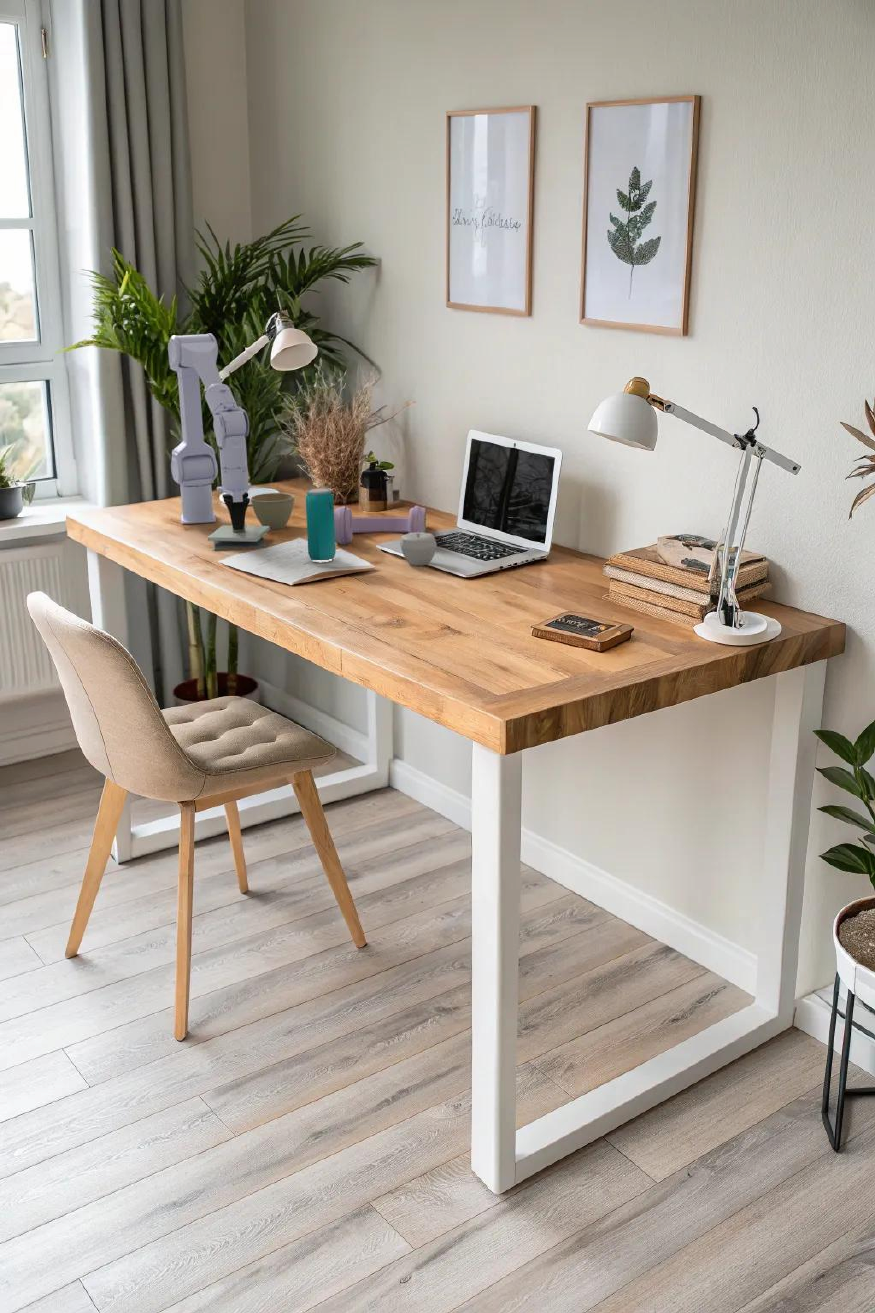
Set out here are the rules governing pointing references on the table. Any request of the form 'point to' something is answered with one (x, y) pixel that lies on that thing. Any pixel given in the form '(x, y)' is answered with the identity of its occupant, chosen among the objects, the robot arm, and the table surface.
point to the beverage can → (320, 523)
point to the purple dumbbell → (376, 523)
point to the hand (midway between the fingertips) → (238, 527)
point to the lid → (239, 533)
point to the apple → (418, 548)
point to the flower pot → (273, 509)
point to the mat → (238, 545)
